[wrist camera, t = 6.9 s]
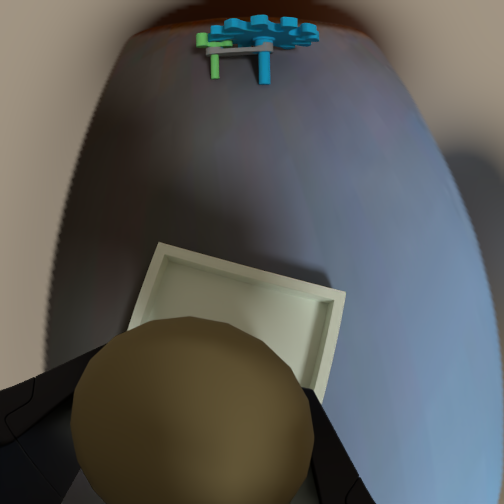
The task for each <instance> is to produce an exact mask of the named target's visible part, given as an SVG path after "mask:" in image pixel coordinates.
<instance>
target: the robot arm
mask: <svg viewBox="0 0 504 504" xmlns="http://www.w3.org/2000/svg"><path fill="white" fill-rule="evenodd" d="M105 345H106V344H104V345H102V346H100V347H98V348H96V349H94V350H92V351H90V352H87V353H85V354H83V355H81V356H79V357H77V358H75V359H72V360H70V361H68V362H66V363H64V364H62V365H59V366H57V367H55V368H53V369H51V370H48V371H46V372H44V373H42V374H40V375H38V376H36V378H35V377H33V378H31V379H29V380H26V381H24V382H22V383H19V384H17V385H15V386H12V387H9V388H6V389H3V390H1V391H0V504H61V503H62V501H63V498H64V497H65V495H66V493H67V491H68V490H69V488H70V486H71V484H72V482H73V481H74V479H75V477H76V475H77V473H78V472H79V470H80V468H81V467H80V465H79V463H78V461H77V457H76V453H75V448H74V443H73V438H72V433H71V425H70V421H71V413H72V405H73V398H74V391H75V388H76V386H77V384H78V382H79V380H80V378H81V376H82V374H83V372H84V370H85V368H86V366H87V364H88V363H89V361H90V359H91V358H92V357H94V356H95V355H96V354H97V353H98V352H99V351H100V350H101V349H102V348H103V347H104V346H105ZM301 388H302V389H303V391H304V393H305V395H306V397H307V399H308V400H309V406H310V412H311V418H312V425H313V431H314V445H313V450H312V455H311V460H310V465H309V469H308V474H307V477H306V479H305V480H304V482H303V484H302V485H301V487H300V488H299V490H298V492H297V493H296V495H295V496H294V498H293V499H292V501H291V502H290V504H376V503H375V502H374V500H373V499H372V497H371V495H370V493H369V492H368V490H367V488H366V487H365V485H364V483H363V481H362V479H361V478H360V477H359V474H358V472H357V470H356V469H355V467H354V465H353V463H352V461H351V459H350V457H349V456H348V454H347V452H346V450H345V448H344V446H343V444H342V443H341V441H340V439H339V437H338V435H337V433H336V431H335V430H334V428H333V426H332V424H331V422H330V420H329V418H328V417H327V415H326V413H325V411H324V409H323V407H322V405H321V403H320V402H319V400H318V398H317V396H316V394H315V392H314V390H313V389H310V388H305V387H301Z"/></svg>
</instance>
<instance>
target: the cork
mask: <svg viewBox="0 0 504 504" xmlns="http://www.w3.org/2000/svg"><path fill="white" fill-rule="evenodd" d="M70 425H71V433H72V438H73V443H74V448H75V453H76V457H77V461H78V463H79V465H80V467H81V469H82V470H83V472H84V474H85V476H86V478H87V480H88V481H89V483H90V485H91V487H92V488H93V490H94V491H95V492H96V493H97V494H98V495H99V496H100V497H101V498H102V499H103V501H104V502H105V503H106V504H290V502H291V501H292V499H293V498H294V496H295V495H296V493H297V492H298V490H299V488H300V487H301V485H302V484H303V482H304V480H305V479H306V477H307V474H308V469H309V465H310V460H311V455H312V450H313V445H314V431H313V425H312V418H311V412H310V406H309V400H308V399H307V397H306V395H305V393H304V391H303V389H302V388H301V386H300V384H299V382H298V380H297V378H296V376H295V375H294V373H293V371H292V369H291V367H290V366H288V365H287V364H286V363H285V362H284V361H283V360H282V359H281V358H280V357H279V356H278V355H277V354H276V353H275V352H274V351H273V350H272V349H271V348H270V347H269V346H268V345H266V344H265V343H264V342H263V341H262V340H260V339H258V338H256V337H254V336H252V335H250V334H248V333H246V332H244V331H242V330H240V329H238V328H236V327H234V326H232V325H231V324H229V323H224V322H219V321H213V320H208V319H203V318H197V317H192V316H186V317H177V318H168V319H159V320H152V321H149V322H146V323H144V324H142V325H140V326H137V327H135V328H133V329H131V330H128V331H126V332H124V333H122V334H119V335H117V336H115V337H114V338H113V339H112V340H111V341H109V342H108V343H107V344H106V345H105V346H104V347H103V348H102V349H101V350H100V351H99V352H98V353H97V354H96V355H95V356H94V357H92V358H91V359H90V361H89V363H88V364H87V366H86V368H85V370H84V372H83V374H82V376H81V378H80V380H79V382H78V384H77V386H76V388H75V391H74V398H73V405H72V413H71V421H70Z"/></svg>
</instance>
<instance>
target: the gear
mask: <svg viewBox="0 0 504 504" xmlns="http://www.w3.org/2000/svg"><path fill="white" fill-rule="evenodd" d="M280 20H281V24H276V23H272V22H270V21H268V16H266V15H256V16H251V22H245V21H241V20H239V19H236V18H231V19H228V20H226V21H224V26H217V25H216V26H211V33H209V34H207V33H198V34H196V47H197V48H205V47H208V48H206V56H207V57H211V79H219V57H221V56H236V55H258V60H259V84H260V85H269V84H270V54H272V53H273V46H276V47H281V48H283V49H293V48H295V45H299V46H306V47H308V46H310V45H311V41H312V42H318V41H319V32H318V31H316V26H315V25H313V24H310V23H303V24H301V26H300V27H297V18H291V17H282V18H280ZM232 44H238V48H231V47H232ZM251 45H253V46H255V47H251ZM224 48H226V49H224Z"/></svg>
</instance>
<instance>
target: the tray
mask: <svg viewBox="0 0 504 504" xmlns="http://www.w3.org/2000/svg"><path fill="white" fill-rule="evenodd" d="M345 296H346V292H343V291H339V290H335V289H332V288H328V287H324V286H320V285H316V284H312V283H309V282H305V281H301V280H297V279H293V278H289V277H286V276H282V275H278V274H274V273H271V272H267V271H263V270H259V269H256V268H252V267H248V266H244V265H241V264H237V263H233V262H230V261H226V260H222V259H219V258H215V257H211V256H208V255H204V254H200V253H197V252H193V251H190V250H186V249H182V248H179V247H175V246H172V245H168V244H164V243H161V242H158V245H157V248H156V250H155V253H154V255H153V258H152V261H151V263H150V266H149V269H148V271H147V274H146V277H145V280H144V283H143V285H142V288H141V291H140V294H139V297H138V300H137V303H136V305H135V308H134V311H133V314H132V317H131V321H130V324H129V327H128V330H131V329H133V328H135V327H137V326H140V325H142V324H144V323H146V322H149V321H152V320H159V319H168V318H177V317H186V316H192V317H197V318H203V319H208V320H213V321H219V322H224V323H229V324H231V325H232V326H234V327H236V328H238V329H240V330H242V331H244V332H246V333H248V334H250V335H252V336H254V337H256V338H258V339H260V340H262V341H263V342H264V343H265V344H266V345H268V346H269V347H270V348H271V349H272V350H273V351H274V352H275V353H276V354H277V355H278V356H279V357H280V358H281V359H282V360H283V361H284V362H285V363H286V364H287V365H288V366H290V367H291V369H292V371H293V373H294V375H295V376H296V378H297V380H298V382H299V384H300V386H301V387H305V388H310V389H313V390H314V392H315V394H316V396H317V398H318V400H319V402H320V403H321V405H322V401H323V397H324V393H325V390H326V386H327V382H328V377H329V373H330V369H331V365H332V360H333V356H334V352H335V347H336V342H337V338H338V333H339V328H340V323H341V318H342V312H343V307H344V302H345ZM128 330H127V331H128Z"/></svg>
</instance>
